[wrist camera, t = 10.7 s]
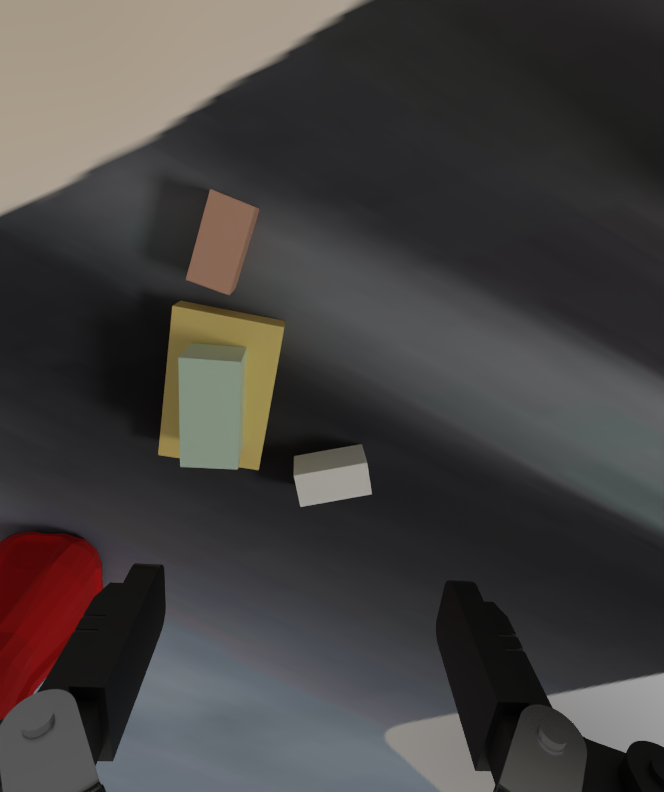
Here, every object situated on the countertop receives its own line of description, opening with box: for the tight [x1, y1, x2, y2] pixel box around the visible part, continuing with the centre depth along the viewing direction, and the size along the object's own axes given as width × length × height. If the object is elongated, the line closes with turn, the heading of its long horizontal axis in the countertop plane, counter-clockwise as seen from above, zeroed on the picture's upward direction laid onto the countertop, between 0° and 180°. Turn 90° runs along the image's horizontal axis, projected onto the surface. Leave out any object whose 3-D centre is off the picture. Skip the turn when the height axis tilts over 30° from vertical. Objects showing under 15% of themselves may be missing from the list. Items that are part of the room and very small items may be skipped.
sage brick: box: [178, 343, 247, 469], centre depth 33 cm, size 4×8×4 cm, turn 174°
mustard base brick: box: [158, 301, 285, 470], centre depth 36 cm, size 8×12×3 cm, turn 168°
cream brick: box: [294, 444, 372, 507], centre depth 39 cm, size 6×3×4 cm, turn 99°
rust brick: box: [186, 189, 260, 295], centre depth 32 cm, size 6×3×4 cm, turn 159°
